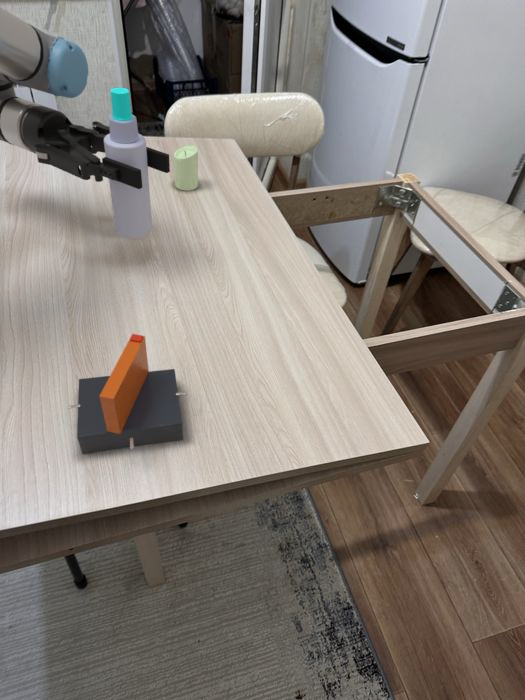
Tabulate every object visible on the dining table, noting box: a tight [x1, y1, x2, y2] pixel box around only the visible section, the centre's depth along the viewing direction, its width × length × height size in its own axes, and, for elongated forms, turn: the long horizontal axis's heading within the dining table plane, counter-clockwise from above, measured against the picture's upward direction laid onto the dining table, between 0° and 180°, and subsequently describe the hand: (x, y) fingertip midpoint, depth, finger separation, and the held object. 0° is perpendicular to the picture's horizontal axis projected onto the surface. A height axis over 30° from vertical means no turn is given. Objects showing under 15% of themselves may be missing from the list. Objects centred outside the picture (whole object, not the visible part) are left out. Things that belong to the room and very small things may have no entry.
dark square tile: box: [67, 368, 188, 455], centre depth 61 cm, size 14×14×4 cm
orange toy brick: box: [99, 333, 150, 434], centre depth 57 cm, size 10×2×7 cm, turn 171°
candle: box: [173, 145, 199, 192], centre depth 104 cm, size 5×5×8 cm
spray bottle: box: [104, 87, 153, 240], centre depth 75 cm, size 6×6×22 cm
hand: (154, 171), depth 73 cm, fingers closed on spray bottle, 6 cm apart
